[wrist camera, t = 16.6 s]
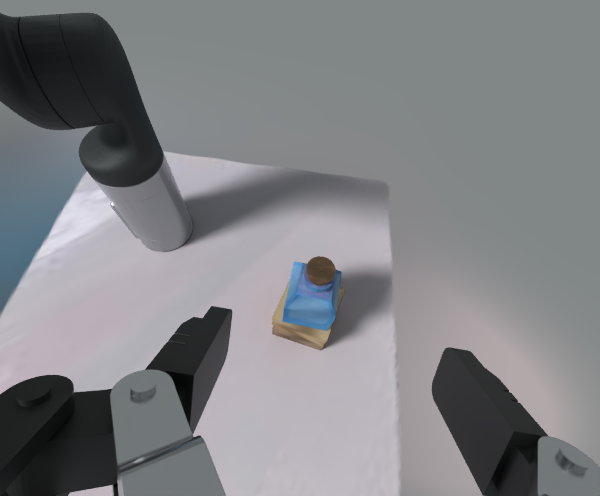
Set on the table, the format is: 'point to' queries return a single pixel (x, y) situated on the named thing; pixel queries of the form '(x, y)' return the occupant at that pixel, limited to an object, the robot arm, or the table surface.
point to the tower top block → (302, 331)
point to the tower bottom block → (294, 338)
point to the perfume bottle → (312, 294)
